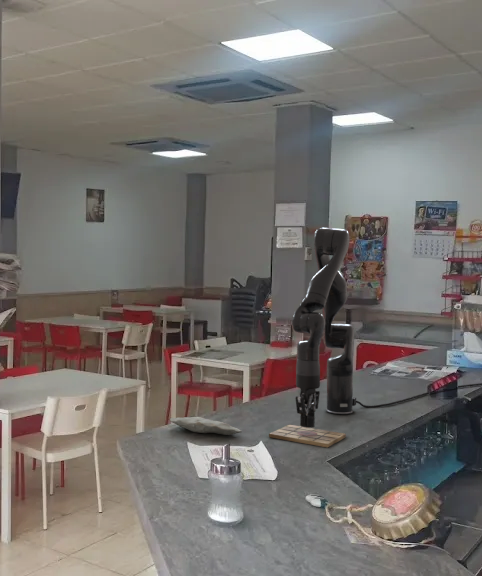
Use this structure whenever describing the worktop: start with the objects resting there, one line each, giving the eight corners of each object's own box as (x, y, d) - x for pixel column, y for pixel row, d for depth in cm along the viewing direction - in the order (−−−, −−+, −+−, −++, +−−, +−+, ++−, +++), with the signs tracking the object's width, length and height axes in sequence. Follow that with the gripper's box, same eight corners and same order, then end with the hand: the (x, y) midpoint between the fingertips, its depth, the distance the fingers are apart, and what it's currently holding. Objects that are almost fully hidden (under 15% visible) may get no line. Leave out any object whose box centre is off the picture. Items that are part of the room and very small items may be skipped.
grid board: (289, 427, 247) (289, 424, 247) (345, 437, 234) (345, 433, 234) (268, 437, 235) (268, 433, 235) (327, 447, 223) (327, 443, 223)
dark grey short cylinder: (303, 423, 238) (303, 413, 238) (317, 425, 235) (317, 415, 235) (297, 426, 234) (298, 416, 234) (311, 428, 231) (311, 418, 231)
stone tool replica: (163, 427, 242) (230, 438, 228) (165, 412, 243) (232, 422, 228) (184, 429, 254) (249, 439, 240) (186, 414, 255) (251, 424, 241)
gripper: (309, 377, 226) (309, 430, 227) (327, 370, 237) (327, 421, 238) (287, 374, 230) (287, 427, 231) (306, 368, 241) (305, 418, 242)
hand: (307, 424), depth 234 cm, fingers closed on dark grey short cylinder, 4 cm apart
